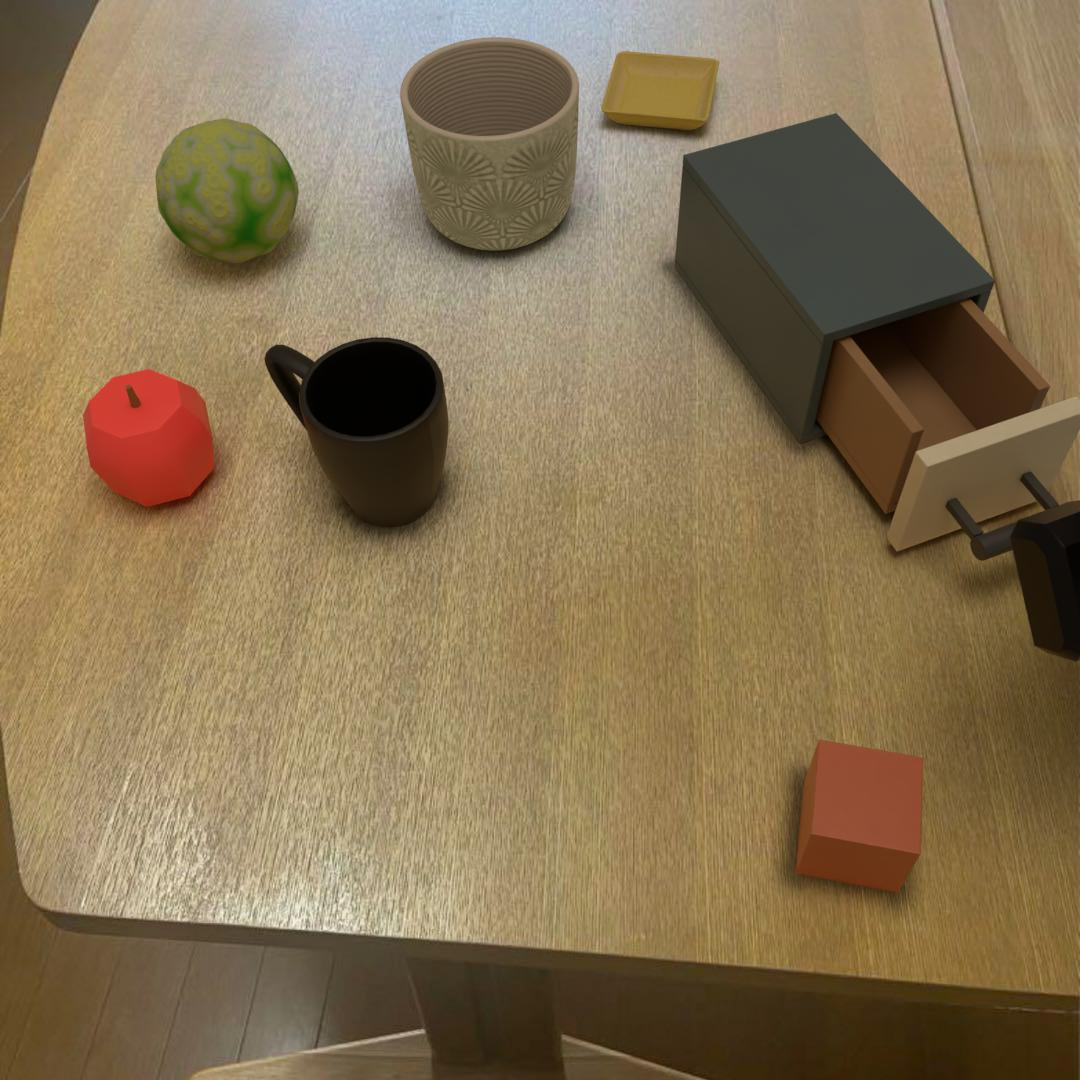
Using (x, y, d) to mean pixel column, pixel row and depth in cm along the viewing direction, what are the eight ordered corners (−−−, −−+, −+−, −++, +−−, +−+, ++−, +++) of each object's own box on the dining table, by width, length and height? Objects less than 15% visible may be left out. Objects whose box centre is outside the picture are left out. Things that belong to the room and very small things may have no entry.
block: (901, 800, 62) (923, 757, 57) (897, 893, 59) (921, 854, 55) (803, 782, 62) (818, 738, 58) (795, 873, 59) (810, 834, 55)
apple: (81, 469, 77) (35, 382, 70) (189, 409, 80) (155, 320, 73) (141, 544, 73) (98, 460, 66) (252, 478, 76) (222, 391, 69)
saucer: (706, 142, 95) (708, 119, 94) (599, 132, 97) (599, 109, 95) (718, 81, 100) (720, 58, 99) (617, 72, 102) (617, 49, 100)
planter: (581, 266, 87) (581, 136, 78) (412, 271, 87) (393, 142, 78) (577, 162, 94) (577, 33, 86) (421, 166, 95) (405, 38, 86)
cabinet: (955, 392, 78) (995, 280, 71) (799, 444, 76) (824, 334, 68) (814, 225, 89) (836, 112, 81) (674, 267, 87) (682, 154, 79)
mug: (340, 401, 80) (314, 293, 72) (484, 478, 75) (472, 371, 68) (256, 480, 76) (219, 374, 68) (402, 566, 71) (380, 463, 64)
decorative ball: (243, 310, 85) (208, 194, 77) (150, 256, 89) (107, 141, 81) (337, 236, 90) (313, 120, 82) (244, 189, 94) (213, 73, 85)
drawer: (1088, 548, 70) (1139, 462, 63) (935, 606, 67) (971, 522, 61) (891, 314, 82) (916, 222, 75) (755, 357, 80) (770, 266, 73)
